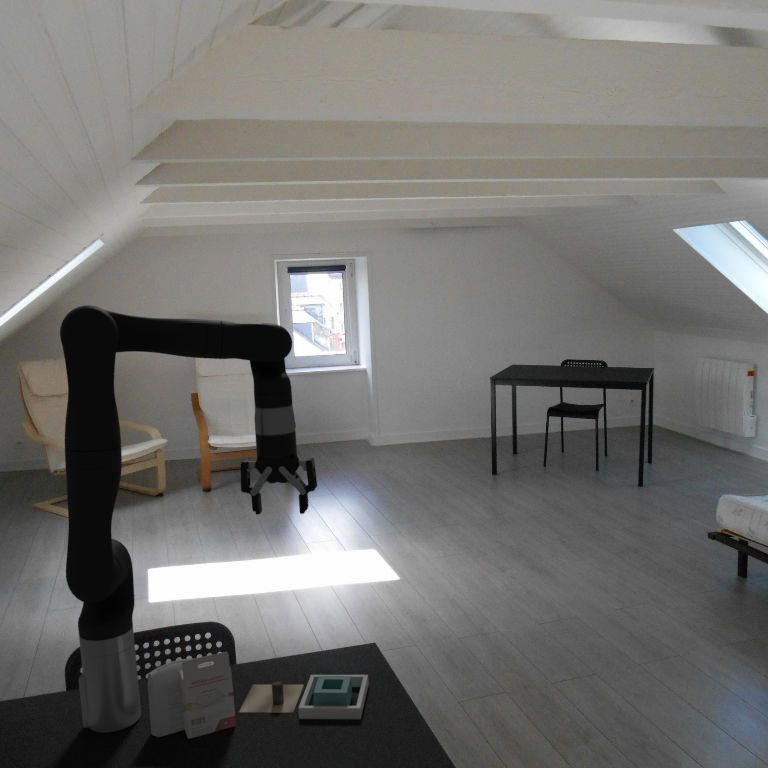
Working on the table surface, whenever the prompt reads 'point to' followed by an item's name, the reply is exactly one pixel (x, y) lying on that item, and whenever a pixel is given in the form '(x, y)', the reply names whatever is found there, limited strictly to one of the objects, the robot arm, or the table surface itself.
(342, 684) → the teal hollow block
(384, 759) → the table surface
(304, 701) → the tray
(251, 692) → the peg board
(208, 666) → the ink cartridge box
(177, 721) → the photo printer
